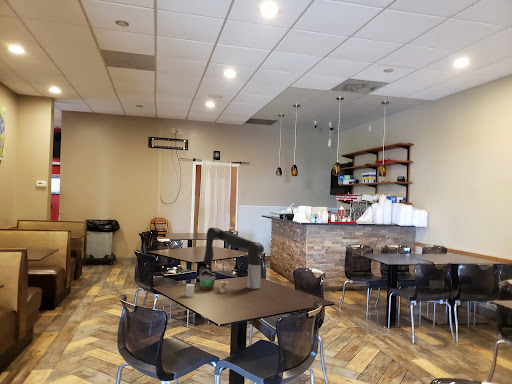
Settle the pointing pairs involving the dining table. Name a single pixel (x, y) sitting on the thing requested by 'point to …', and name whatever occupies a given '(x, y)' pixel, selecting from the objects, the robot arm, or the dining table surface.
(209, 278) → the food container
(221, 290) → the birch block
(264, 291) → the dining table surface
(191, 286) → the grey block
